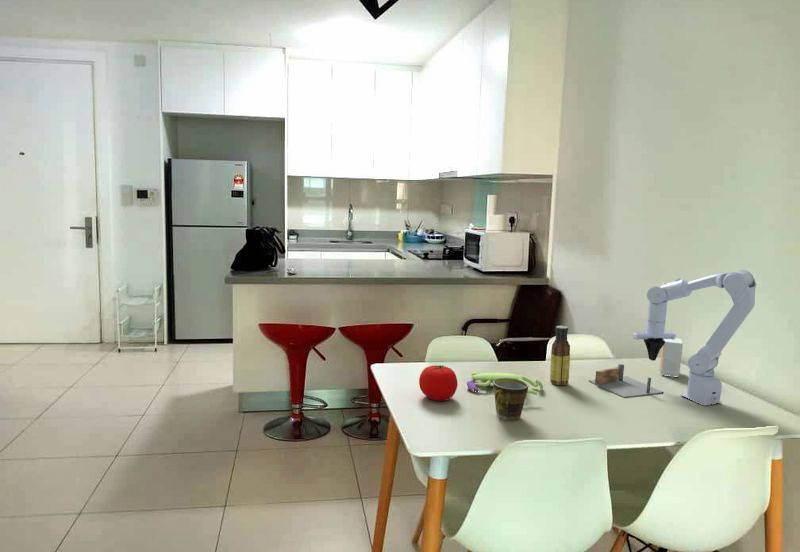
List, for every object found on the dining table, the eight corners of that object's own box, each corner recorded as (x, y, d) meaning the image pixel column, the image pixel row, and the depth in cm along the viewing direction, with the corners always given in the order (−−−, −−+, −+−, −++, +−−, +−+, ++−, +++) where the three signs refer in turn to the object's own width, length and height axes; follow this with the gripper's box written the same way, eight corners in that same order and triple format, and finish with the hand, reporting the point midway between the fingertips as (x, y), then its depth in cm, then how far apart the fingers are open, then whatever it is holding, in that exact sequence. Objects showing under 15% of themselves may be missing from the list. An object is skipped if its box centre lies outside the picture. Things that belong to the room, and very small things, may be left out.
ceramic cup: (501, 407, 187) (504, 375, 185) (531, 416, 181) (534, 383, 179) (478, 419, 177) (481, 385, 175) (509, 429, 171) (512, 394, 169)
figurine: (530, 409, 188) (531, 391, 187) (452, 389, 202) (453, 372, 201) (551, 393, 203) (553, 376, 202) (478, 375, 218) (479, 360, 217)
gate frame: (588, 381, 216) (590, 364, 215) (626, 377, 223) (628, 361, 222) (623, 397, 201) (625, 379, 200) (663, 393, 207) (665, 375, 206)
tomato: (464, 401, 190) (466, 368, 189) (432, 407, 184) (434, 373, 183) (441, 389, 200) (443, 358, 199) (411, 395, 194) (412, 362, 193)
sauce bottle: (566, 381, 215) (571, 325, 212) (569, 387, 209) (575, 329, 206) (547, 379, 216) (552, 324, 213) (550, 385, 209) (554, 328, 206)
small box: (659, 370, 234) (663, 336, 232) (677, 372, 232) (681, 338, 230) (660, 376, 226) (664, 341, 224) (679, 378, 224) (683, 343, 222)
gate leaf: (615, 379, 217) (617, 367, 216) (618, 380, 216) (619, 368, 215) (594, 383, 211) (596, 371, 210) (597, 384, 210) (598, 372, 209)
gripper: (668, 318, 216) (664, 356, 218) (630, 318, 213) (626, 356, 215) (681, 322, 209) (676, 362, 211) (641, 322, 206) (637, 362, 208)
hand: (652, 359), depth 213 cm, fingers closed
